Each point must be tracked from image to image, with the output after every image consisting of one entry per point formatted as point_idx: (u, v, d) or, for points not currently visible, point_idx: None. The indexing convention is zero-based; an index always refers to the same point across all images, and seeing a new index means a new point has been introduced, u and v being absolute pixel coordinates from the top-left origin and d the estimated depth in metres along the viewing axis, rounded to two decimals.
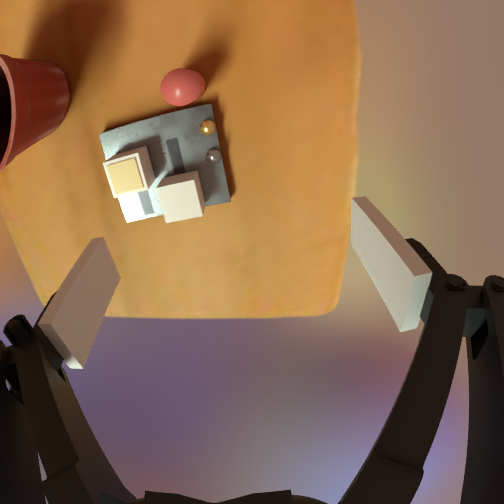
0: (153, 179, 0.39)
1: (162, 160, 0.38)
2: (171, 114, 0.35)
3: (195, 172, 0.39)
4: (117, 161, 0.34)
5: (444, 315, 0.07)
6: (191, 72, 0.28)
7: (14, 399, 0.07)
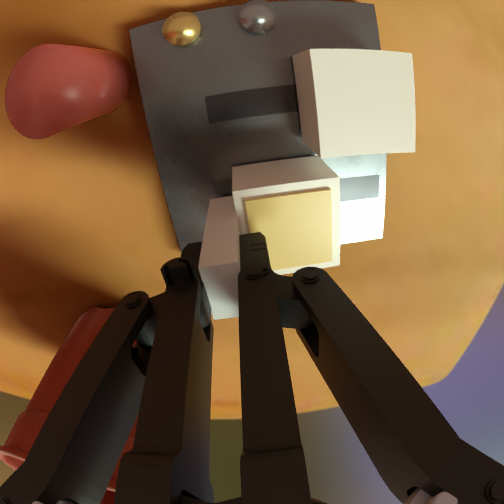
0: (316, 160, 0.16)
1: (259, 135, 0.16)
2: (148, 111, 0.15)
3: (295, 57, 0.13)
4: None
5: (254, 305, 0.09)
6: (12, 74, 0.08)
7: (133, 367, 0.09)
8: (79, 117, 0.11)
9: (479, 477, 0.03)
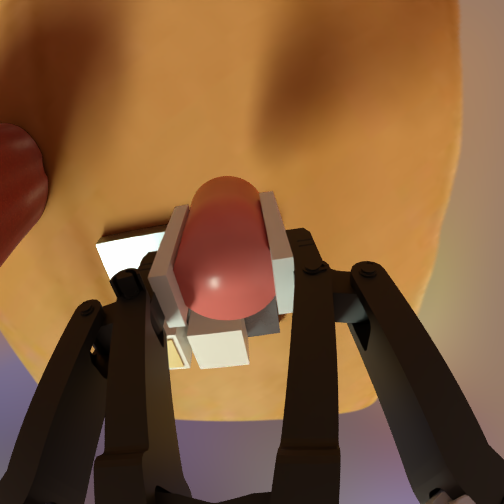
0: None
1: None
2: None
3: None
4: None
5: (310, 300, 0.09)
6: (259, 246, 0.12)
7: (94, 370, 0.09)
8: None
9: (499, 486, 0.03)
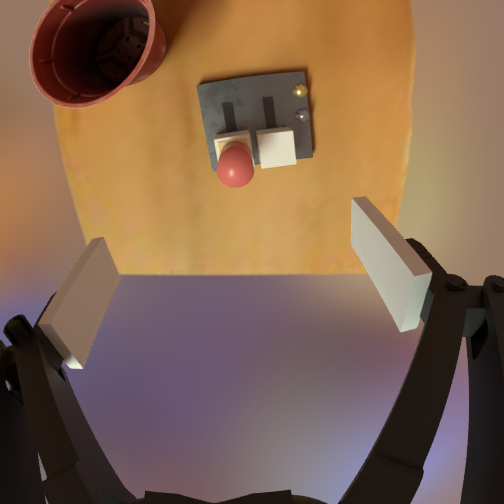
0: None
1: (256, 114, 0.42)
2: (269, 75, 0.39)
3: (287, 127, 0.42)
4: (229, 139, 0.40)
5: (444, 315, 0.07)
6: (246, 157, 0.34)
7: (14, 399, 0.07)
8: None
9: None
